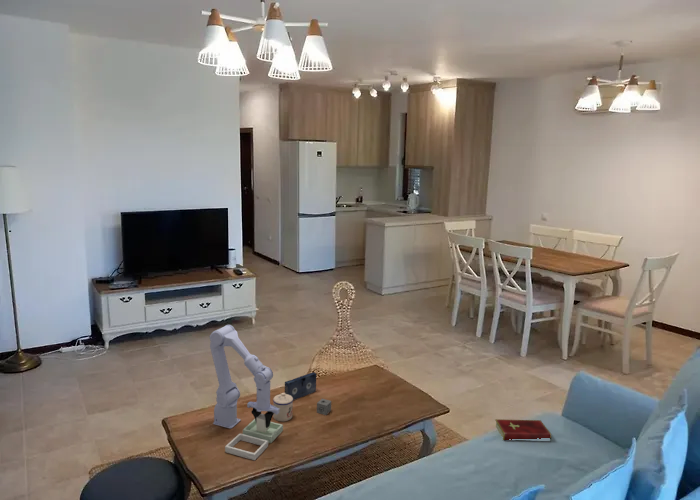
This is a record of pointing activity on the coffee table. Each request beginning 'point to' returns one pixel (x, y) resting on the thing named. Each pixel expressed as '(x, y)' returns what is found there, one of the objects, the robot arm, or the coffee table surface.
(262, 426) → the cream block
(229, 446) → the bin
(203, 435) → the coffee table surface
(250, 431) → the green bin
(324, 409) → the dice cube
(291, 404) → the teacup with lid
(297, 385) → the vhs cassette tape
